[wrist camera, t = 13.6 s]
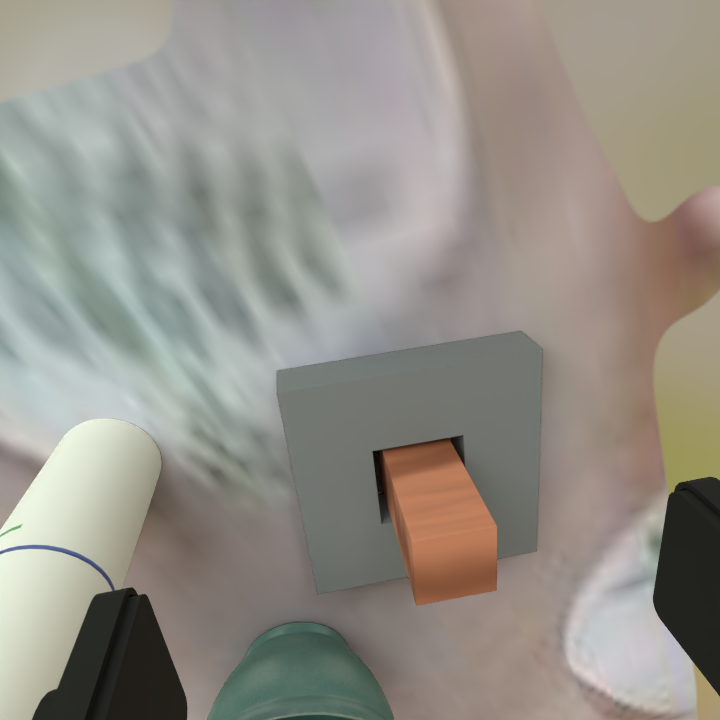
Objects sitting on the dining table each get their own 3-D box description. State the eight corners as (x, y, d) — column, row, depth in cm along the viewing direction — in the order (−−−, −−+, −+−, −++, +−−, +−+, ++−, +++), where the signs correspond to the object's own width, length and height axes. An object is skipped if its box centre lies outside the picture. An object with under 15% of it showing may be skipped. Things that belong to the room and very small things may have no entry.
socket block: (276, 370, 38) (276, 393, 35) (521, 330, 40) (542, 349, 37) (314, 561, 46) (317, 594, 43) (519, 522, 47) (536, 551, 44)
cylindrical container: (171, 493, 41) (43, 949, 18) (74, 508, 40) (-183, 1000, 18) (147, 411, 38) (-40, 834, 16) (42, 426, 38) (-314, 891, 15)
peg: (376, 431, 42) (411, 541, 31) (439, 421, 42) (497, 526, 31) (381, 484, 44) (416, 605, 33) (442, 474, 44) (496, 590, 33)
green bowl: (183, 702, 50) (160, 843, 41) (239, 574, 45) (229, 700, 35) (343, 724, 55) (357, 856, 45) (410, 609, 50) (443, 730, 40)
